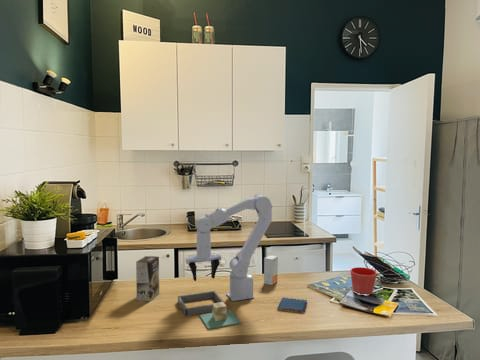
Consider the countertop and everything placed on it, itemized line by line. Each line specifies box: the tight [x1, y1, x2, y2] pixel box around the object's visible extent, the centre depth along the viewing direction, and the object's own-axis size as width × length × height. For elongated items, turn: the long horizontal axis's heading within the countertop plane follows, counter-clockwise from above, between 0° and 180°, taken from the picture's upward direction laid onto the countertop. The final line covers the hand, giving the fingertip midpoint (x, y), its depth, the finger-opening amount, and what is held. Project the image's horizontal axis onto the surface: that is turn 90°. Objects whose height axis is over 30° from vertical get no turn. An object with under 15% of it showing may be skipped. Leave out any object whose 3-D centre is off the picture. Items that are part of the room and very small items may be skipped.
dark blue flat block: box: [277, 297, 308, 314], centre depth 144 cm, size 10×11×2 cm
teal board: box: [199, 309, 242, 330], centre depth 133 cm, size 12×11×1 cm
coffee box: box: [135, 255, 160, 302], centre depth 154 cm, size 9×6×16 cm
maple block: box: [211, 302, 227, 321], centre depth 133 cm, size 4×4×5 cm
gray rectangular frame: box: [177, 290, 226, 317], centre depth 145 cm, size 16×14×2 cm
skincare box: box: [263, 255, 279, 286], centre depth 171 cm, size 6×4×12 cm
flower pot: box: [350, 266, 377, 295], centre depth 158 cm, size 11×11×10 cm
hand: (204, 279), depth 151 cm, fingers open, 7 cm apart
